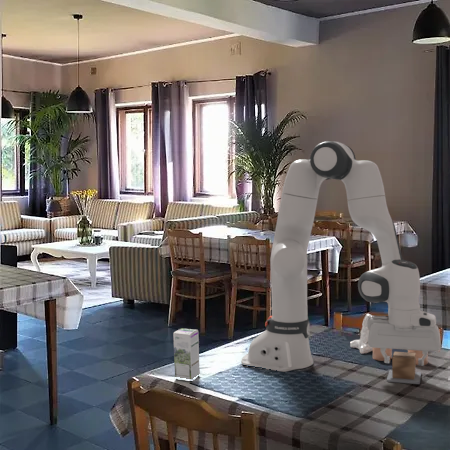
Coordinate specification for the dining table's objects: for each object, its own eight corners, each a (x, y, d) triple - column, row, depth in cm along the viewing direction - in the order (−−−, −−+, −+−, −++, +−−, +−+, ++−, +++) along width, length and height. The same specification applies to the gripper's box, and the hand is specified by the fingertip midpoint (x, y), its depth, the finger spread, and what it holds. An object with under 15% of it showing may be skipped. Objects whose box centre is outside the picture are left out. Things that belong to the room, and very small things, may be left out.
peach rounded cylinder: (407, 364, 209) (407, 348, 208) (408, 359, 214) (408, 343, 214) (427, 366, 207) (427, 350, 206) (428, 360, 212) (428, 344, 212)
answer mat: (386, 381, 194) (386, 379, 194) (389, 371, 202) (389, 369, 202) (419, 384, 191) (419, 381, 191) (421, 374, 199) (421, 371, 199)
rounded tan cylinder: (371, 360, 214) (371, 344, 214) (373, 354, 220) (373, 339, 219) (391, 361, 212) (390, 346, 212) (392, 356, 218) (392, 340, 217)
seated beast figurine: (348, 346, 230) (348, 311, 229) (371, 344, 232) (371, 309, 231) (361, 354, 221) (361, 318, 219) (385, 351, 223) (385, 315, 222)
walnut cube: (392, 377, 195) (392, 357, 194) (394, 371, 200) (394, 351, 200) (414, 379, 193) (414, 358, 192) (415, 373, 198) (415, 352, 198)
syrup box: (200, 376, 202) (199, 329, 201) (191, 382, 197) (189, 333, 196) (183, 374, 205) (182, 327, 203) (174, 380, 199) (172, 332, 198)
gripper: (365, 317, 195) (366, 364, 196) (440, 321, 188) (440, 369, 190) (368, 312, 201) (368, 358, 202) (441, 316, 194) (440, 363, 196)
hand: (403, 363), depth 196 cm, fingers open, 8 cm apart
